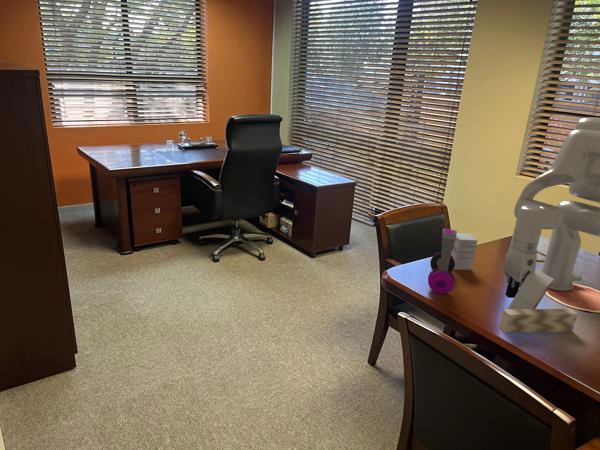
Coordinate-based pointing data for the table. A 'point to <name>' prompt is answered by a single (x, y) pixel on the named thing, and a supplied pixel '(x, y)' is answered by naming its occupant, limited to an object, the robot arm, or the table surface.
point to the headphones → (443, 265)
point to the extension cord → (542, 254)
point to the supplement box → (464, 251)
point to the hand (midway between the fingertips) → (510, 296)
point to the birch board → (537, 320)
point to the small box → (531, 291)
